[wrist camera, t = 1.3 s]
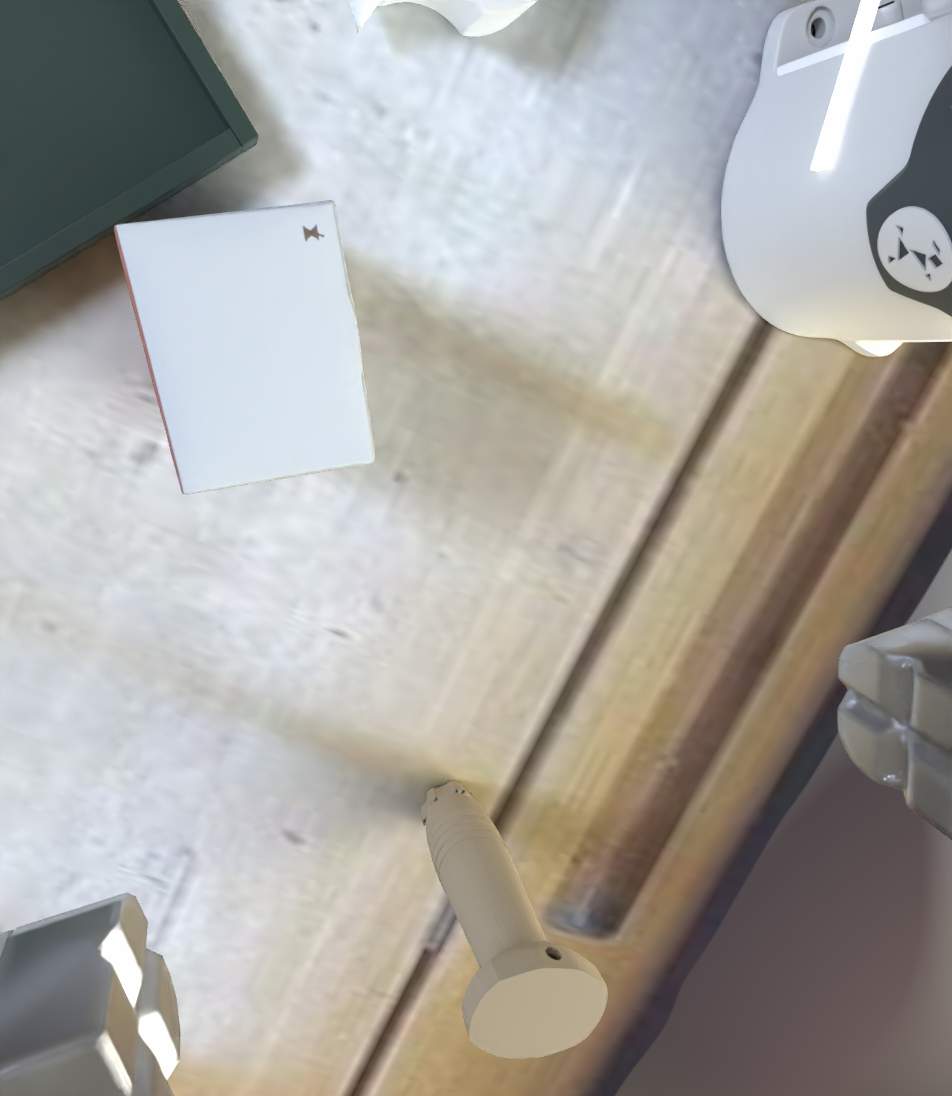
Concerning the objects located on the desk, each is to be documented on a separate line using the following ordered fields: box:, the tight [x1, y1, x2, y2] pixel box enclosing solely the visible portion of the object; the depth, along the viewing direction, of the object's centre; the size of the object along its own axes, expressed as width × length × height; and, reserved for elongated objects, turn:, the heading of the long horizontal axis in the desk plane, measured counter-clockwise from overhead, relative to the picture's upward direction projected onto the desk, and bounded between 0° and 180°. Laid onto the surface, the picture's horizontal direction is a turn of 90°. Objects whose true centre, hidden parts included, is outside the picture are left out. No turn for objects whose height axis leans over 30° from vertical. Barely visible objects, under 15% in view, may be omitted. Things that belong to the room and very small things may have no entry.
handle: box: [421, 781, 608, 1058], centre depth 40 cm, size 5×6×15 cm
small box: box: [114, 200, 375, 495], centre depth 29 cm, size 8×6×13 cm
